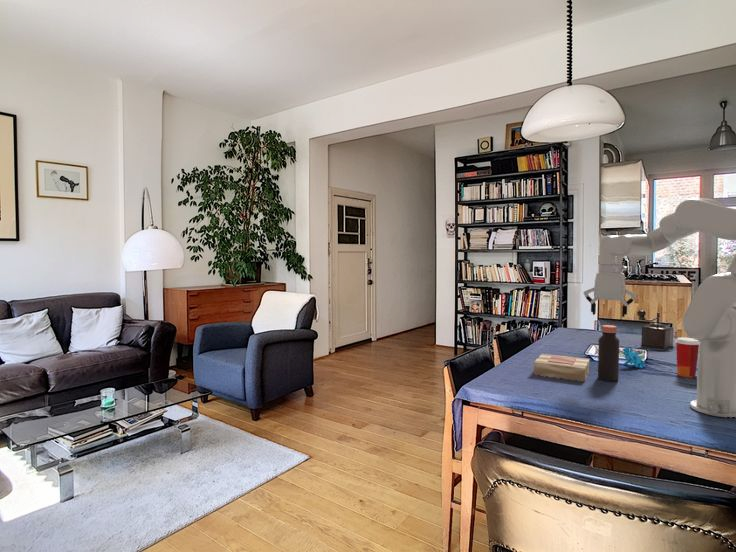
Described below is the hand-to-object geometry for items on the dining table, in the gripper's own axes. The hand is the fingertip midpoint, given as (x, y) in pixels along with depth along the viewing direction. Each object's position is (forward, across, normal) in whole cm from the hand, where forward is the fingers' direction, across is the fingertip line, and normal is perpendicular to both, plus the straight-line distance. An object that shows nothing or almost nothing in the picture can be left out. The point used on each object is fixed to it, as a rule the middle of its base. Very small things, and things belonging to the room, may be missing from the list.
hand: (608, 315), depth 166 cm
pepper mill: (+25, -16, -72) cm, 78 cm away
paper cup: (+24, -26, -20) cm, 40 cm away
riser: (+24, +15, 0) cm, 29 cm away
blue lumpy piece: (+24, -9, -25) cm, 36 cm away
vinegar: (+24, -1, 0) cm, 24 cm away
